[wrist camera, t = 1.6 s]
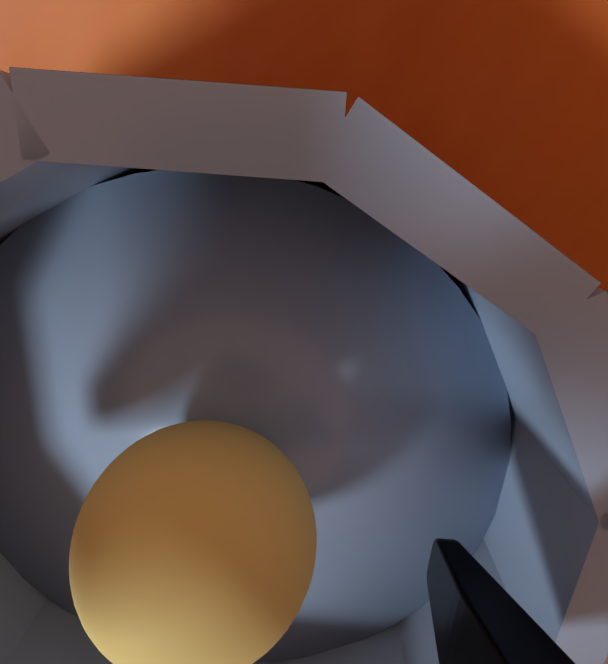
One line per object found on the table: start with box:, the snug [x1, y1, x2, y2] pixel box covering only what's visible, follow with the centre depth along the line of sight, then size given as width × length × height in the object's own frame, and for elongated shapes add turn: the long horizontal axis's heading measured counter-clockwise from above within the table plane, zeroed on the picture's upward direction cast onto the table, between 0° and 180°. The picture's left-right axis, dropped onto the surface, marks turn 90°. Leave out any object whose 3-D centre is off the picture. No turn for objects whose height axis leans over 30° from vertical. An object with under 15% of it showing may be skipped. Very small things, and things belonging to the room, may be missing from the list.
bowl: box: [0, 67, 608, 664], centre depth 10 cm, size 15×15×4 cm
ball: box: [69, 420, 317, 664], centre depth 9 cm, size 4×4×4 cm
